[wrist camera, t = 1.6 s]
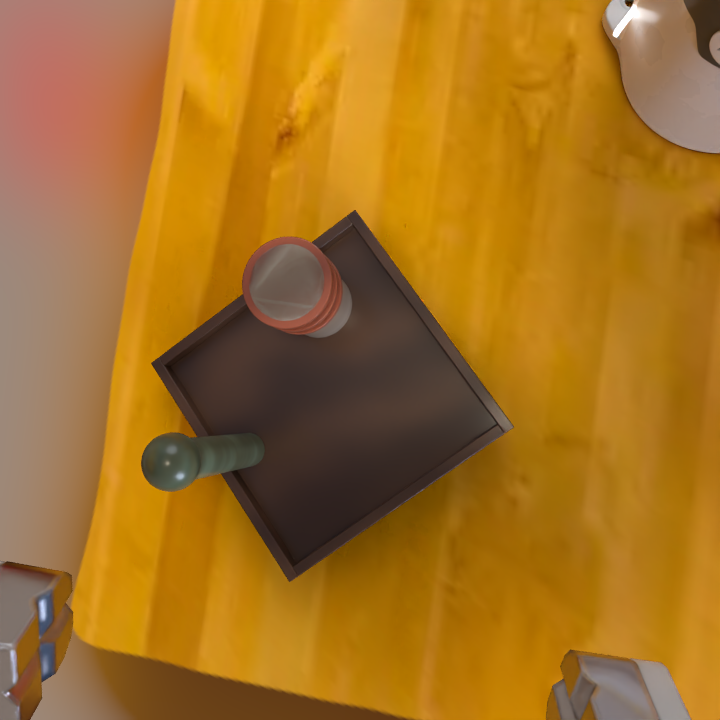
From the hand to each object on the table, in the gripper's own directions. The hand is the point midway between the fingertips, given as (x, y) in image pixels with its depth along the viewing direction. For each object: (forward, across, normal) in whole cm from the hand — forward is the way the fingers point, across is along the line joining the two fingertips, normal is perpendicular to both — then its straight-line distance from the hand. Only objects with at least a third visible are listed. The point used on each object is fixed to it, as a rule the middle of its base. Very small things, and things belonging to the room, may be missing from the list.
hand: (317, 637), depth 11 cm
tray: (+38, +1, +15) cm, 41 cm away
